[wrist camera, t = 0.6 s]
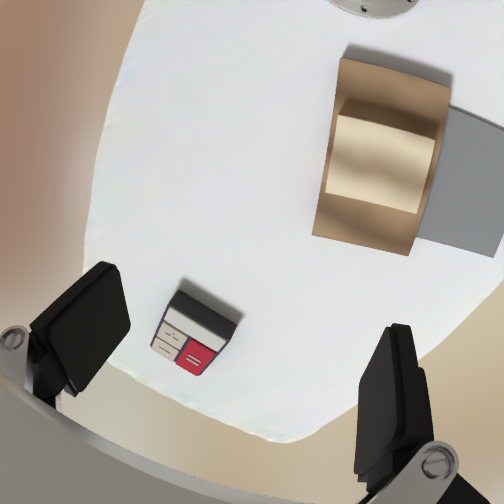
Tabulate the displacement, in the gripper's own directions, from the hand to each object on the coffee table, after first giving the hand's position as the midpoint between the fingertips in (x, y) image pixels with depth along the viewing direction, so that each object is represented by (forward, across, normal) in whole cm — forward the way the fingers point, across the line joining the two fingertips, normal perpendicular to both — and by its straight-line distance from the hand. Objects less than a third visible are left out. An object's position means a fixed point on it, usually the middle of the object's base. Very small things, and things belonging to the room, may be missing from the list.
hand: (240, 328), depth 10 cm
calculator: (+28, +15, +31) cm, 45 cm away
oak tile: (+25, -7, -2) cm, 26 cm away
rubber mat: (+27, -21, -2) cm, 34 cm away
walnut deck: (+27, -8, -2) cm, 28 cm away
